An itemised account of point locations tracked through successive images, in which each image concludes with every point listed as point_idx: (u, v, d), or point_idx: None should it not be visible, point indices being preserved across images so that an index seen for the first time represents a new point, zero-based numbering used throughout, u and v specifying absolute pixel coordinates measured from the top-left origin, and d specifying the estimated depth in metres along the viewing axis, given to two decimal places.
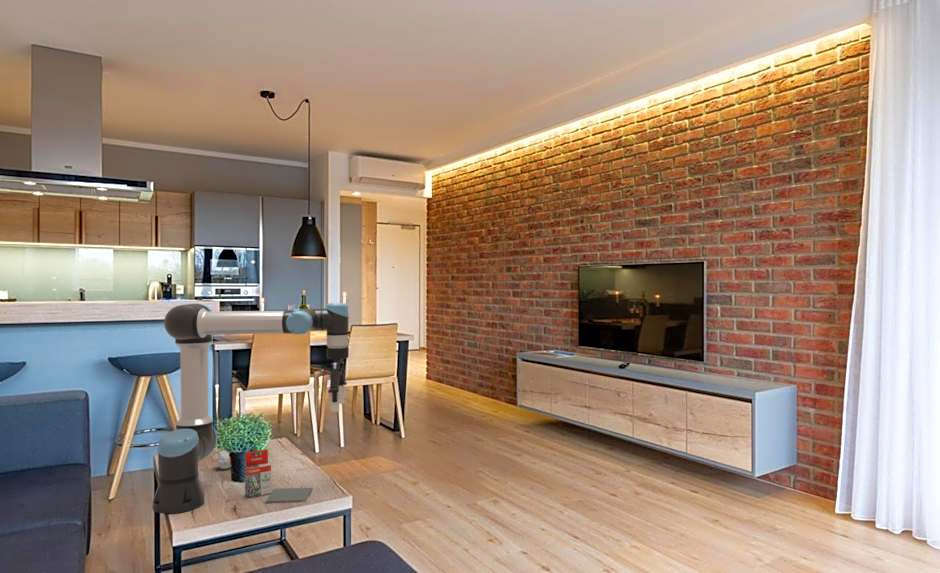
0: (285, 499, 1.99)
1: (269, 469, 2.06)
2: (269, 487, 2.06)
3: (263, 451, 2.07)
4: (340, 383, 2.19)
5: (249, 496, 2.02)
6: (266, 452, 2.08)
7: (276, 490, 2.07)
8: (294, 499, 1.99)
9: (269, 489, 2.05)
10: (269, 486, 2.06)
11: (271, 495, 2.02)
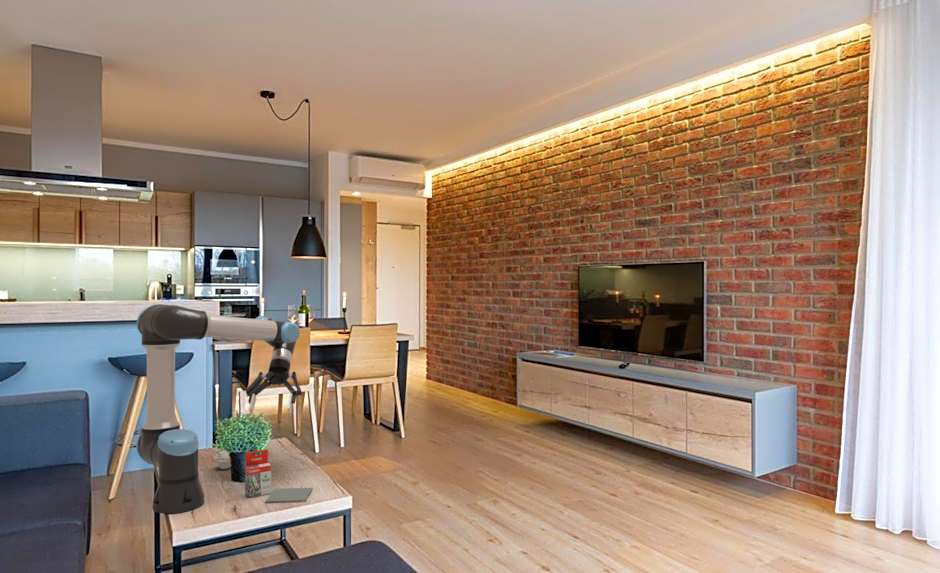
0: (285, 499, 1.99)
1: (269, 469, 2.05)
2: (269, 487, 2.05)
3: (263, 451, 2.07)
4: (253, 394, 2.23)
5: (249, 496, 2.02)
6: (266, 452, 2.08)
7: (276, 490, 2.07)
8: (294, 499, 1.99)
9: (269, 489, 2.05)
10: (269, 486, 2.05)
11: (271, 495, 2.02)
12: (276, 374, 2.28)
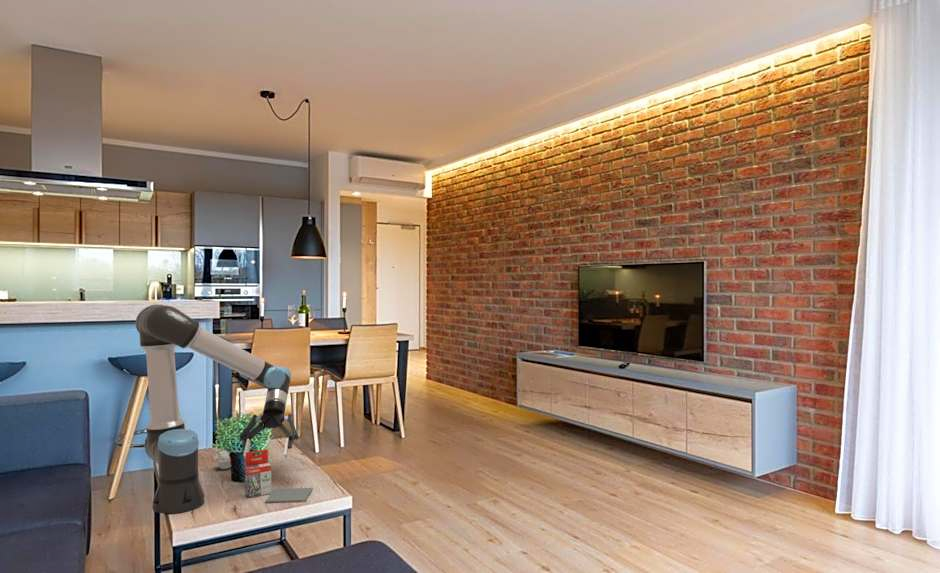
0: (285, 499, 1.99)
1: (269, 469, 2.05)
2: (269, 487, 2.06)
3: (263, 451, 2.07)
4: (248, 438, 2.14)
5: (249, 496, 2.02)
6: (266, 452, 2.08)
7: (276, 490, 2.07)
8: (294, 499, 1.99)
9: (269, 489, 2.05)
10: (269, 486, 2.06)
11: (271, 495, 2.02)
12: (271, 417, 2.20)
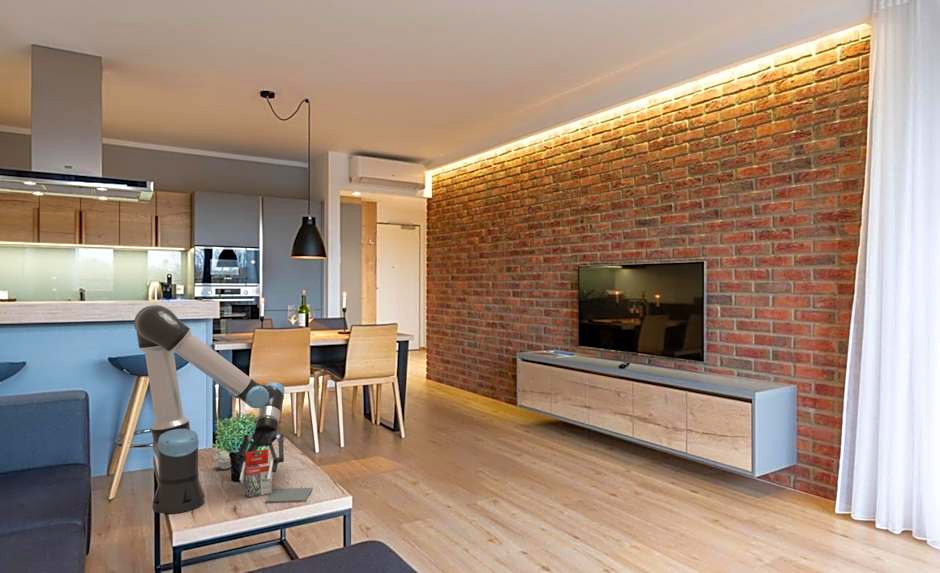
0: (285, 499, 1.99)
1: None
2: (269, 487, 2.05)
3: (263, 451, 2.07)
4: (244, 461, 2.06)
5: (249, 496, 2.02)
6: (266, 452, 2.08)
7: (276, 490, 2.07)
8: (294, 499, 1.99)
9: (269, 489, 2.05)
10: (269, 486, 2.05)
11: (271, 495, 2.02)
12: (263, 433, 2.13)
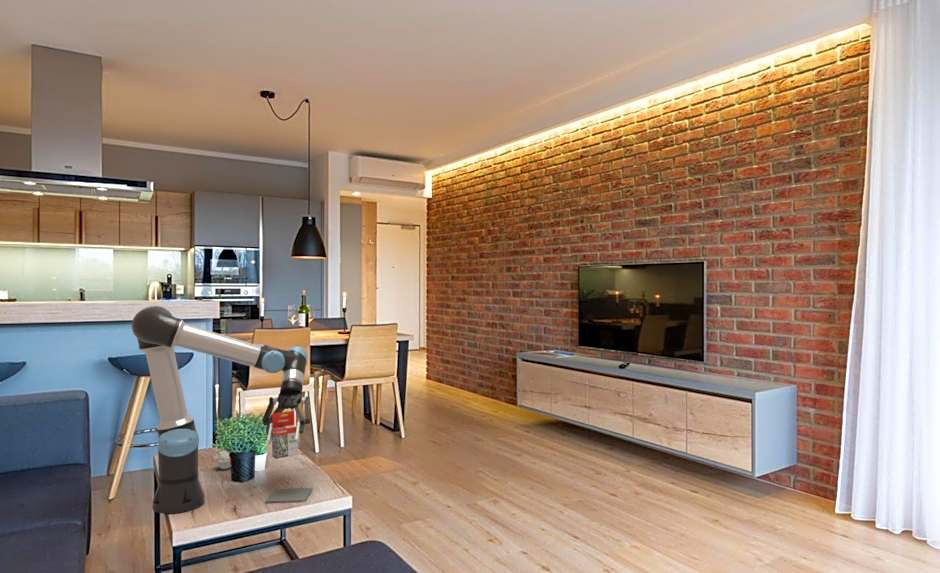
0: (285, 499, 1.99)
1: None
2: (296, 448, 2.05)
3: (289, 413, 2.06)
4: (271, 423, 2.05)
5: (277, 457, 2.01)
6: (292, 414, 2.07)
7: (276, 490, 2.07)
8: (294, 499, 1.99)
9: (296, 450, 2.05)
10: (296, 447, 2.05)
11: (271, 495, 2.02)
12: (288, 395, 2.12)
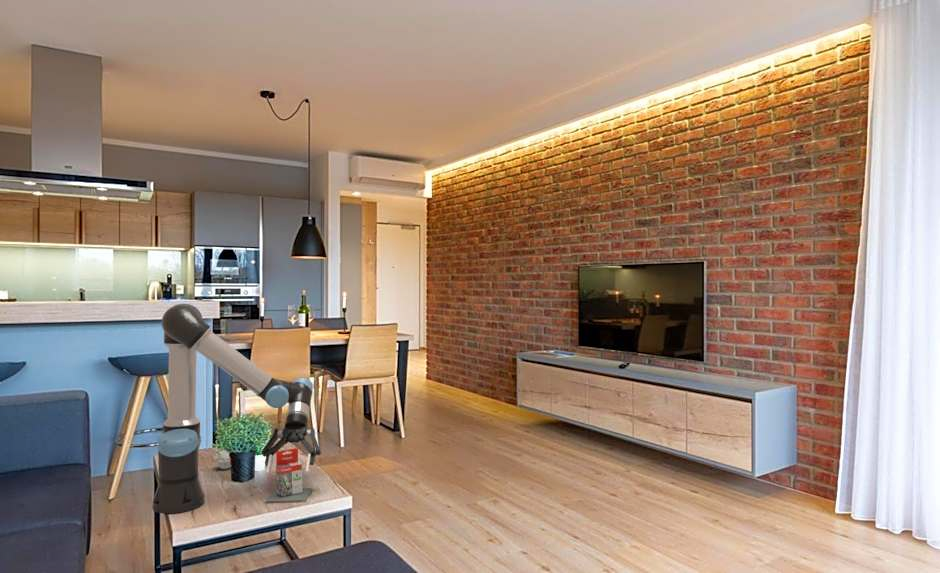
0: (285, 499, 1.99)
1: (300, 468, 2.04)
2: (300, 486, 2.04)
3: (293, 450, 2.06)
4: (270, 454, 2.05)
5: (281, 495, 2.00)
6: (296, 451, 2.07)
7: None
8: (294, 499, 1.99)
9: (300, 488, 2.04)
10: (300, 485, 2.04)
11: (271, 495, 2.02)
12: (293, 430, 2.11)
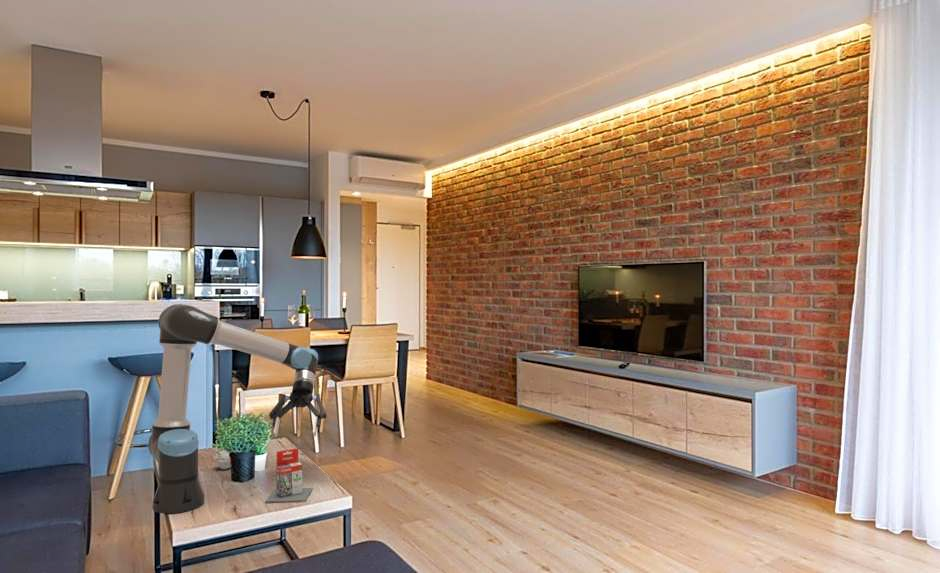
0: (285, 499, 1.99)
1: (300, 468, 2.04)
2: (300, 486, 2.04)
3: (294, 451, 2.06)
4: (277, 417, 2.18)
5: (281, 496, 2.00)
6: (297, 451, 2.07)
7: None
8: (294, 499, 1.99)
9: (300, 488, 2.04)
10: (300, 485, 2.04)
11: (271, 495, 2.02)
12: (300, 396, 2.23)
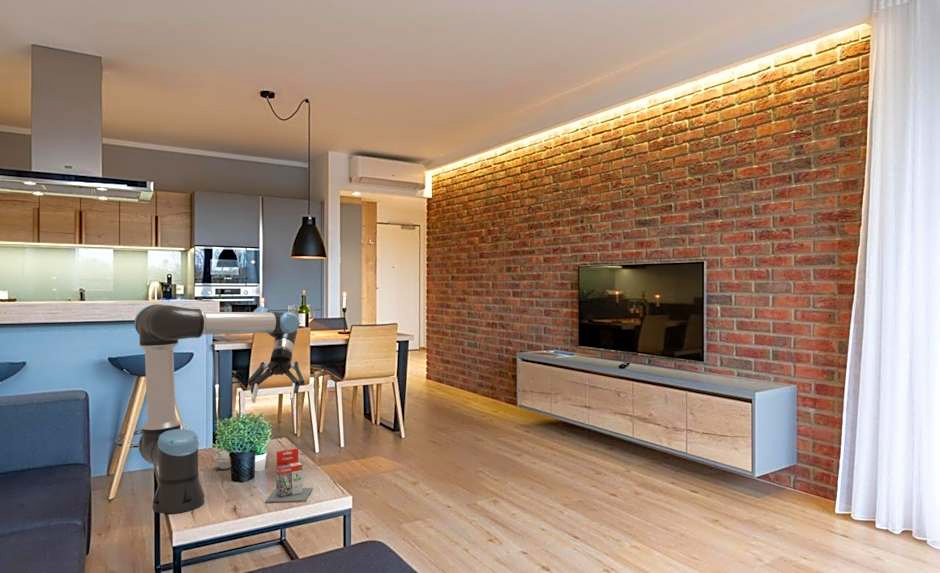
0: (285, 499, 1.99)
1: (300, 468, 2.04)
2: (300, 486, 2.04)
3: (294, 451, 2.06)
4: (255, 383, 2.21)
5: (281, 496, 2.00)
6: (297, 451, 2.07)
7: None
8: (294, 499, 1.99)
9: (300, 488, 2.04)
10: (300, 485, 2.04)
11: (271, 495, 2.02)
12: (278, 364, 2.27)
